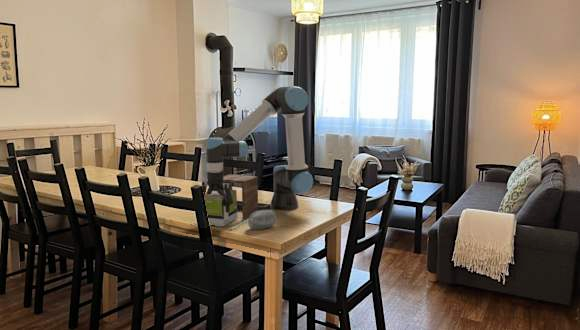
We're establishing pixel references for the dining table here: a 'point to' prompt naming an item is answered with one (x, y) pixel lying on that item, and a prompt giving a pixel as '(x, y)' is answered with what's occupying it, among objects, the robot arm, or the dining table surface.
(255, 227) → the gray ridged ovoid
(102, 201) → the dining table surface
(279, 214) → the dining table surface
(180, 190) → the dining table surface
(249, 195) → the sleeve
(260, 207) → the pit tray
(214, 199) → the tea box
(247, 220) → the lane
